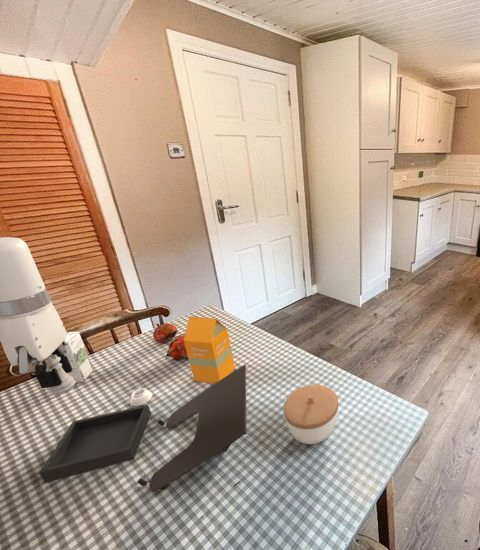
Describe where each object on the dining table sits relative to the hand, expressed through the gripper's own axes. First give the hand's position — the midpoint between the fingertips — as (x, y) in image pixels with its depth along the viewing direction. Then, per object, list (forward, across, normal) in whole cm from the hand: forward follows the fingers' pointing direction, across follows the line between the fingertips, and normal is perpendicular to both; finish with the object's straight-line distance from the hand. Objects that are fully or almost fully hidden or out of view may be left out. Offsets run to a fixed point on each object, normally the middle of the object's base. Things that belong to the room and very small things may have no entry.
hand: (57, 378), depth 65 cm
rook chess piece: (+3, 0, 0) cm, 3 cm away
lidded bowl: (+19, +16, +51) cm, 56 cm away
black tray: (+19, +2, +4) cm, 19 cm away
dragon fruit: (+19, -29, +16) cm, 38 cm away
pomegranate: (+19, -41, +8) cm, 46 cm away
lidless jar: (+19, -11, +8) cm, 23 cm away
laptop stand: (+19, +9, +26) cm, 33 cm away
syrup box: (+19, -28, -13) cm, 36 cm away
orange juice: (+19, -16, +26) cm, 36 cm away
